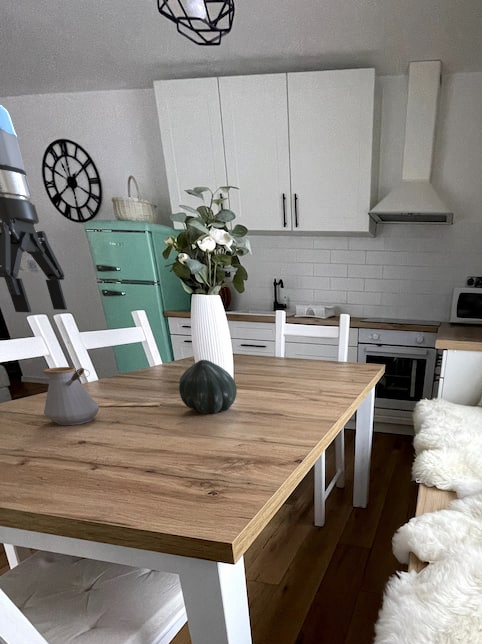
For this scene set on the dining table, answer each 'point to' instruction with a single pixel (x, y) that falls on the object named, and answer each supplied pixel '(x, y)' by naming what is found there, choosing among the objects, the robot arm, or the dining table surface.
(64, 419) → the coffee pot
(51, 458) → the dining table surface
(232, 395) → the squash
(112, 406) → the oak strip
